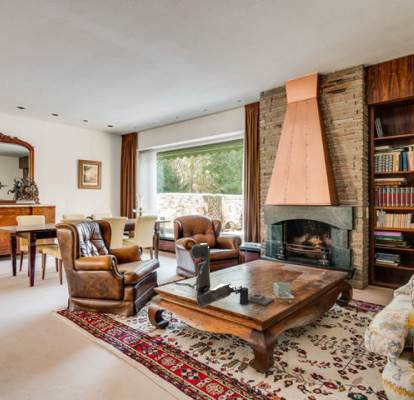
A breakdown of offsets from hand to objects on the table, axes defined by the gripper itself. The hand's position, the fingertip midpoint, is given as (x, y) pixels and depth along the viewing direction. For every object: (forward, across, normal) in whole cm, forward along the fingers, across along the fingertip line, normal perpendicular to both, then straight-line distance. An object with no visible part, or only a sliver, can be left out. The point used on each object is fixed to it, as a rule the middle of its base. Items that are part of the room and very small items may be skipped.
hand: (235, 286), depth 198 cm
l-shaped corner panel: (+45, -14, +14) cm, 49 cm away
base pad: (+22, -4, +14) cm, 26 cm away
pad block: (+11, 0, +14) cm, 18 cm away
